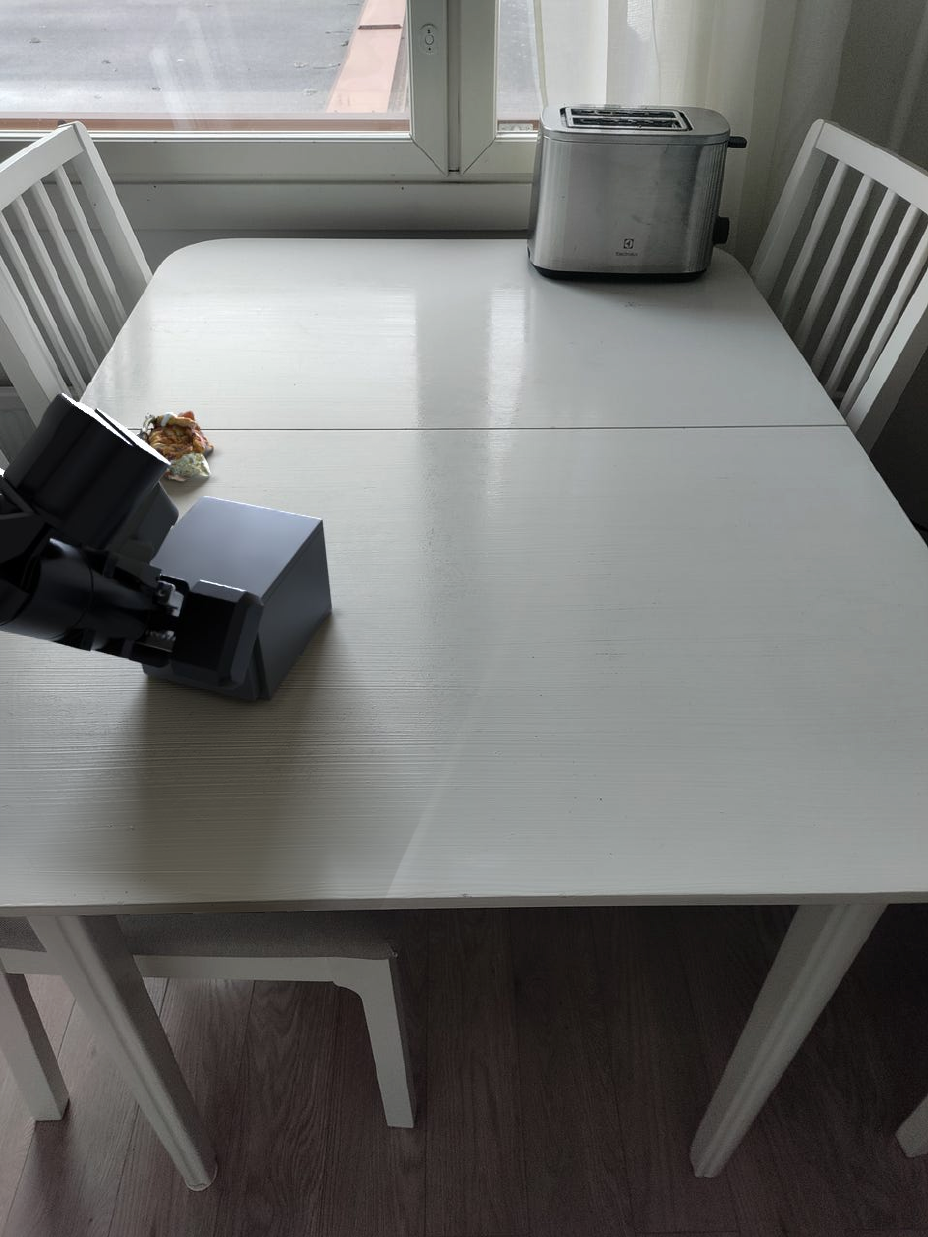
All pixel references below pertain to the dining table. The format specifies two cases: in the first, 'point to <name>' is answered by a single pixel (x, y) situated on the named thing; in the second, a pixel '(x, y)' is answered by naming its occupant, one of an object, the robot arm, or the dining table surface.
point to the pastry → (177, 443)
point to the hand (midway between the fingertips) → (183, 628)
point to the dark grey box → (257, 572)
